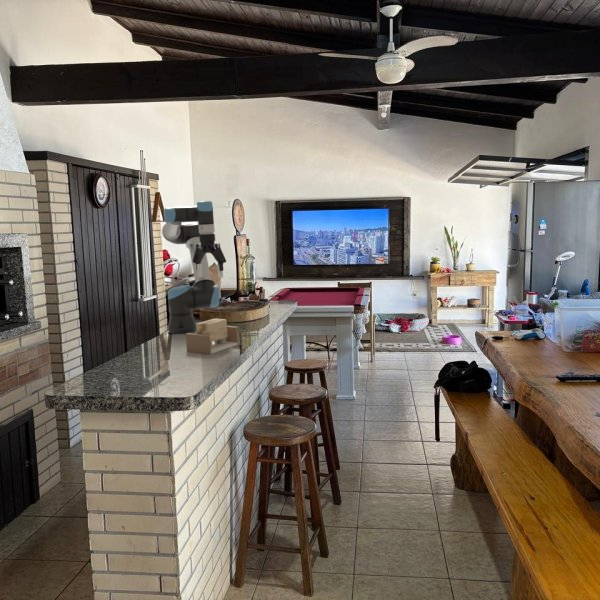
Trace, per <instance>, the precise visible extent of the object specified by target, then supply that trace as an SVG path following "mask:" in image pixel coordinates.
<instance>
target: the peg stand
mask: <svg viewBox="0 0 600 600" xmlns="http://www.w3.org/2000/svg"><path fill="white" fill-rule="evenodd" d="M227 334H228V337H226V338H222V339H219V340H216V341H213V342H210V335H202V334H197V333H192V332H188V333H185V343H186V352H188V353H195V354H204V355H212V354H214V353H217V352H220V351H224V350H225V349H226V350H227V349H229V348H232V347H236V346H238V345H240V336H239V335H240V333H239V326H235V325H233V326H232V325H227Z"/></svg>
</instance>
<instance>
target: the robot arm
mask: <svg viewBox="0 0 600 600" xmlns="http://www.w3.org/2000/svg"><path fill="white" fill-rule="evenodd" d="M163 219H164V222H165V224H163V226H162V229H161V234H162V237H163V238H164V239H165V240H166V241H168V242H169V243H172V244H175V245H185V246H186V248H187V249H188V250H189V255H190V261H191V265H192V271H193V276H194V277H193V279H194V283H193V285H192V286H191V284H183V285H179V286H174V287H172V288H169V289H168V291H167V299H168V312H169V321H168V325H167V333H168V334H186V333H192V332H195V331H196V332H197V329H196V323H197V322H196V319H195V317H194V315H193V310H203V309H204V310H205V309H212V308H213V309H214V308H216V307H218V306H219V305H220V304H219V303H220V296H221V295H220V286H219V285H218V284H216V282H215V280H214V279H212V277H211V271H210V266H209V261H208V257H207V254H211V255H212V256H213V258H214V260H215V261H216V262H217V264H216V267H217V278H218V279H222V278H224V264H225V263H227V259H226V256H225V255H224V252H223V250H222V248H221V243H218V242H217V243H215V242H216V234H215V233H216V231H215V222H214V220H215V217H214V207H213V202H212V201H211V200H202V201H201V200H200V201H197V202H196V205H194V206H193V205H192V206H191V205H190V206H174V207H172V206H171V207H169V206H168V207H164V208H163ZM168 331H169V332H168Z"/></svg>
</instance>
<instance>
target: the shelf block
mask: <svg viewBox="0 0 600 600" xmlns="http://www.w3.org/2000/svg"><path fill="white" fill-rule="evenodd" d="M195 323H196V329H197V330H196V334H202V335H210V342H213V341H216V340H219V339H222V338H226V337H228V334H227V326H228V325H227V323H228V321H227V319H226V318H211V319H207V320H203V321H201V322H195Z"/></svg>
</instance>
